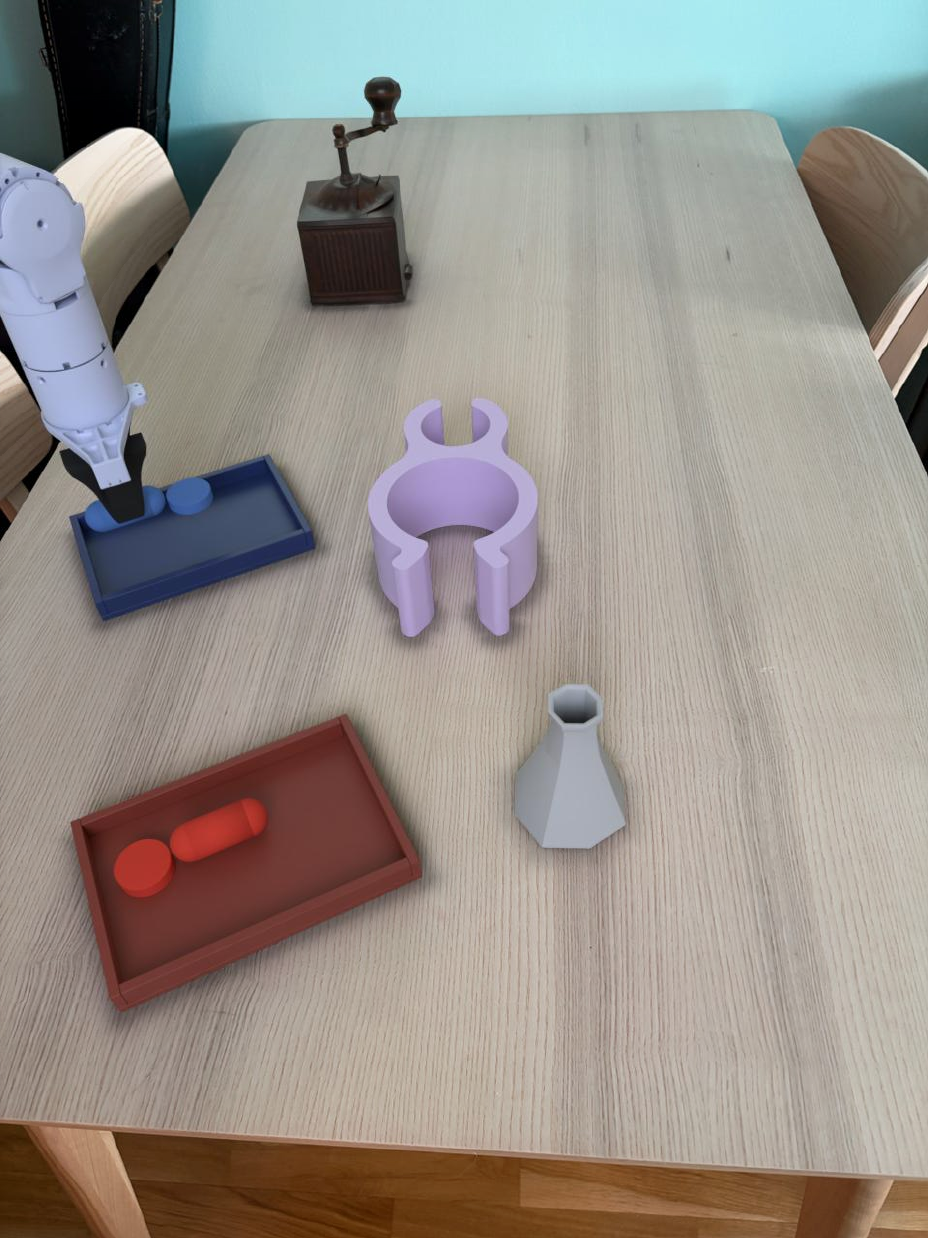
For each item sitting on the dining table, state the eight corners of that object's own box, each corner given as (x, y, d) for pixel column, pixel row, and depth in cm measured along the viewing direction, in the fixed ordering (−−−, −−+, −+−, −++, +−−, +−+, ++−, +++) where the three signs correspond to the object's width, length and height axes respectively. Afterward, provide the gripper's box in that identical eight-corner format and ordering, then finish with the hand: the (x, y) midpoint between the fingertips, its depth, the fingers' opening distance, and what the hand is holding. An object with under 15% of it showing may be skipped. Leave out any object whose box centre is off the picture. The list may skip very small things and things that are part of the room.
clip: (389, 467, 85) (381, 400, 80) (531, 463, 85) (532, 396, 80) (370, 637, 72) (359, 570, 67) (540, 635, 71) (541, 566, 66)
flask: (532, 866, 58) (533, 773, 51) (497, 770, 63) (494, 672, 56) (644, 835, 60) (662, 739, 52) (602, 742, 64) (612, 643, 57)
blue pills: (206, 481, 77) (199, 457, 76) (218, 506, 75) (210, 482, 73) (86, 519, 75) (76, 495, 73) (95, 546, 73) (84, 522, 71)
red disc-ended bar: (125, 907, 57) (112, 887, 56) (113, 860, 59) (101, 840, 58) (278, 842, 60) (271, 821, 58) (262, 799, 62) (254, 778, 60)
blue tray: (103, 621, 74) (94, 603, 73) (76, 534, 81) (68, 515, 80) (315, 548, 78) (312, 530, 77) (273, 471, 86) (269, 453, 84)
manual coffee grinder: (411, 302, 104) (395, 126, 91) (309, 307, 104) (278, 132, 91) (415, 235, 115) (401, 68, 102) (322, 239, 115) (296, 74, 102)
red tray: (120, 1013, 54) (109, 999, 52) (80, 838, 61) (69, 821, 60) (422, 877, 58) (420, 860, 57) (350, 730, 66) (346, 712, 64)
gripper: (149, 386, 60) (202, 547, 70) (103, 284, 69) (156, 439, 79) (33, 419, 58) (105, 579, 68) (1, 309, 67) (69, 465, 77)
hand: (126, 506), depth 74 cm, fingers closed on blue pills, 2 cm apart
